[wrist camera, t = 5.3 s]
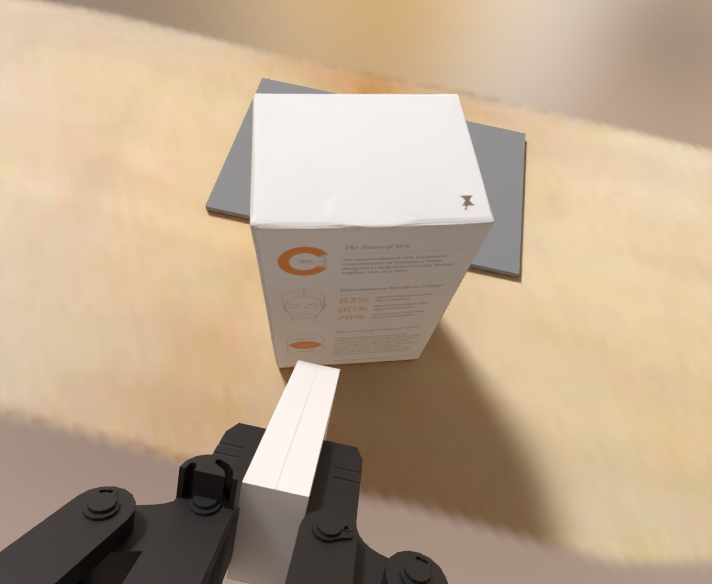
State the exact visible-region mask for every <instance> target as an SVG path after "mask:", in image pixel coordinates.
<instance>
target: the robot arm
mask: <svg viewBox="0 0 712 584" xmlns="http://www.w3.org/2000/svg"><path fill="white" fill-rule="evenodd" d="M339 373H340V369H336V368H332V367H327V366H323V365H318V364H313V363H309V362H304V361H300V360H298V362H297V364H296V366H295V368H294V371H293V373H292V375H291V377H290V379H289V381H288V384H287V386H286V388H285V390H284V392H283V394H282V397H281V399H280V401H279V403H278V405H277V407H276V410H275V412H274V414H273V416H272V418H271V420H270V423H269V425H268V427H267V429H264V428H260V427H255V426H251V425H246V424H241V423H238V424H237V425H235V426H233V427H232V428H230V429H229V430H227V431H226V432H225V434H224V436H223V437H222V439H221V441H220V443H219V444H218V446H217V447H216V449H215V451H214V453H213V454H212V455H201V456H196V457H193V458H191V459H189V460H187V461H186V462H184V463H183V464H182V465H181V466H180V469H179V478H178V487H177V495H176V499H175V500H174V501H173V502H169V503H165V504H157V505H136V502H135V499H134V497H133V495H132V494H131V493H129V492H128V491H127V490H125V489H122V488H118V487H99V488H95V489H91V490H88V491H86V492H84V493H82V494H80V495H79V496H77V497H76V498H74V499H73V500H71V501H70V502H68V503H67V504H66V505H64V506H63V507H62V508H60V509H59V510H57V511H56V512H55V513H53V514H52V515H51V516H49V517H48V518H46V519H45V520H44V521H42V522H41V523H40V524H38V525H37V526H35V527H34V528H33V529H31V530H30V531H28V532H27V533H26V534H24V535H23V536H22V537H20V538H19V539H18V540H16V541H15V542H13V543H12V544H10V545H9V546H8V547H6V548H5V549H4V550H2V551H1V552H0V584H222V581H223V579H224V576H225V574H226V571H227V569H228V574H227V578H228V579H232V580H237V581H241V582H245V583H250V584H448V582H447V580H446V577H445V575H444V574H443V572H442V570H441V569H440V567H439V566H438V565H437V564H436V563H435V562H434V561H432V560H431V559H430V558H428V557H426V556H425V555H422V554H420V553H417V552H412V551H403V552H397V553H396V554H394V555H393V556H391V557H390V558H387V557H385V556H383V555H381V554H379V553H377V552H376V551H374V550H372V549H371V548H370V547H369V546H367V544H365V543H364V542H363V540H362V539H361V537H360V536H359V533H358V531H357V527H356V519H357V509H358V499H359V489H360V480H361V470H362V458H361V456H360V453H359V451H358V449H357V448H356V447H352V446H347V445H343V444H338V443H334V442H329V441H325V439H326V435H327V430H328V425H329V421H330V416H331V411H332V406H333V401H334V397H335V392H336V387H337V382H338V378H339ZM228 566H229V568H228Z"/></svg>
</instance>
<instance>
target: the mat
mask: <svg viewBox="0 0 712 584" xmlns="http://www.w3.org/2000/svg"><path fill="white" fill-rule="evenodd" d="M256 93H261V94H336V93H331V92H326V91H322V90H317V89H312V88H307V87H303V86H298V85H293V84H289V83H284V82H279V81H274V80H270V79H265V78H262V80H261V82H260V84H259V87H258V89H257V91H256ZM466 123H467V127H468V131H469V134H470V137H471V141H472V144H473V148H474V151H475V155H476V158H477V162H478V166H479V169H480V173H481V176H482V180H483V183H484V187H485V191H486V195H487V198H488V201H489V205H490V208H491V211H492V214H493V217H494V220H495V221H494V224H493V226H492V227H491V229H490V231H489V233H488V234H487V236H486V238H485V240H484V242H483V243H482V245H481V247H480V249H479V251H478V252H477V254H476V256H475V258H474V260H473V261H472V263H471V265H470V267H472V268H476V269H481V270H485V271H490V272H495V273H499V274H504V275H509V276H513V277H518V275H519V272H520V248H521V225H522V201H523V177H524V154H525V133H520V132H515V131H511V130H506V129H501V128H497V127H492V126H487V125H482V124H478V123H473V122H468V121H466ZM252 124H253V100H252V102H251V105H250V107H249V109H248V111H247V114H246V116H245V118H244V120H243V123H242V125H241V127H240V129H239V132H238V134H237V136H236V138H235V141H234V143H233V145H232V147H231V150H230V152H229V154H228V156H227V159H226V161H225V163H224V165H223V168H222V170H221V172H220V174H219V177H218V179H217V181H216V183H215V186H214V188H213V190H212V192H211V195H210V197H209V199H208V201H207V204H206V210H209V211H213V212H218V213H223V214H227V215H232V216H236V217H241V218H246V219H250V194H251V161H252Z"/></svg>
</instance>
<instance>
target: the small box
mask: <svg viewBox="0 0 712 584" xmlns="http://www.w3.org/2000/svg"><path fill="white" fill-rule="evenodd" d="M494 221H495V220H494V217H493V214H492V211H491V208H490V205H489V201H488V198H487V195H486V191H485V187H484V183H483V180H482V176H481V173H480V169H479V166H478V162H477V158H476V155H475V151H474V148H473V144H472V141H471V137H470V134H469V131H468V127H467V123H466V120H465V116H464V113H463V110H462V106H461V103H460V99H459V95H458V94H261V93H255V94H254V97H253V124H252V161H251V194H250V228H251V233H252V237H253V242H254V246H255V251H256V256H257V262H258V267H259V273H260V278H261V284H262V289H263V294H264V300H265V305H266V310H267V316H268V322H269V328H270V333H271V339H272V344H273V349H274V354H275V359H276V363H277V366H278V367H279V368H285V367H295V366H296V364H297V362H298V360H300V361H304V362H309V363H313V364H318V365H334V364H351V363H367V362H381V361H396V360H409V359H418V358H419V357H420V355H421V353H422V352H423V350H424V348H425V346H426V345H427V343H428V341H429V339H430V338H431V336H432V334H433V332H434V330H435V328H436V327H437V325H438V323H439V321H440V319H441V318H442V316H443V314H444V312H445V310H446V308H447V307H448V305H449V303H450V301H451V299H452V297H453V296H454V294H455V292H456V290H457V288H458V287H459V285H460V283H461V281H462V279H463V278H464V276H465V274H466V272H467V270H468V269H469V267H470V265H471V263H472V261H473V260H474V258H475V256H476V254H477V252H478V251H479V249H480V247H481V245H482V243H483V242H484V240H485V238H486V236H487V234H488V233H489V231H490V229H491V227H492V226H493V224H494Z"/></svg>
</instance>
